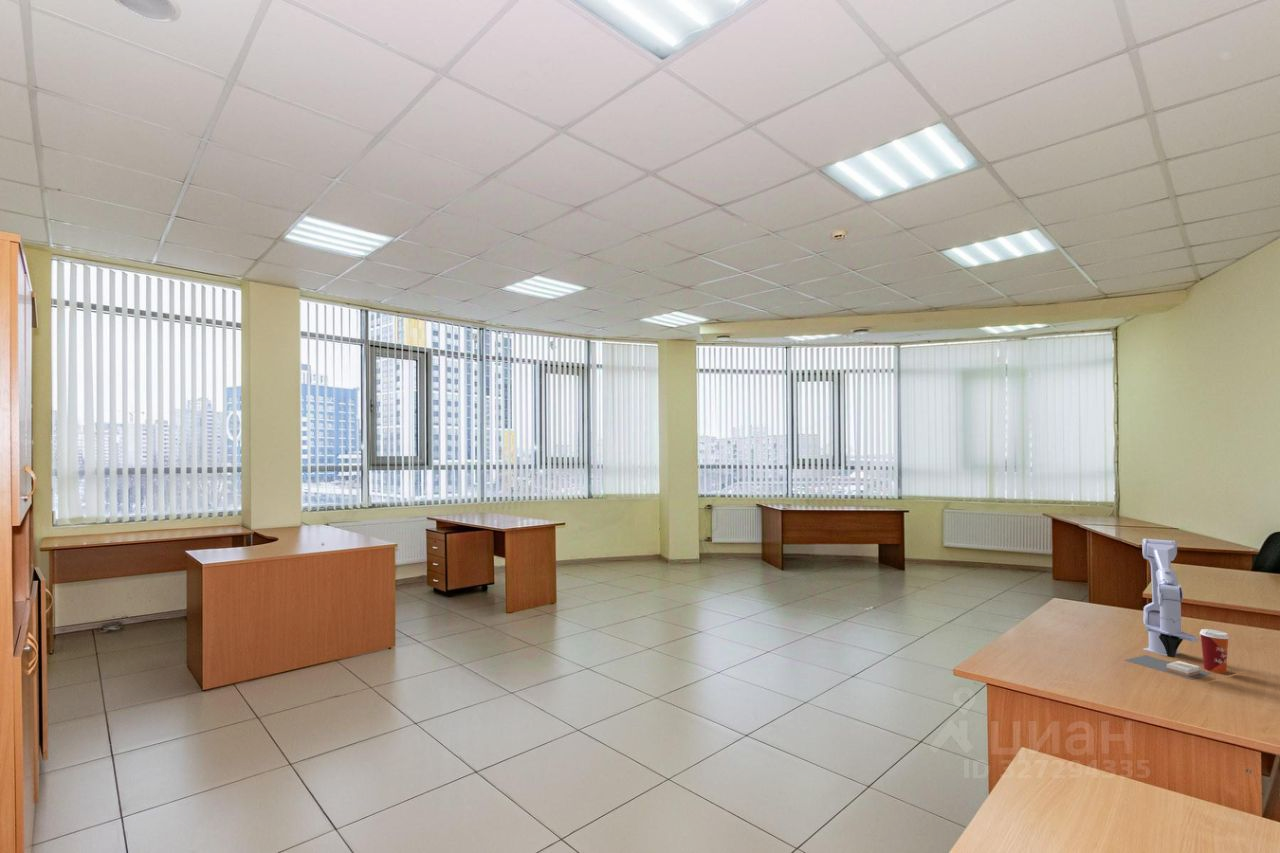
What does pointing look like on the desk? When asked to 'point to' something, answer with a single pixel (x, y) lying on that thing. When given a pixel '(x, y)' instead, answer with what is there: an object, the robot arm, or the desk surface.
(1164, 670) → the mat
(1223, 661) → the paper cup
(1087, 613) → the desk surface
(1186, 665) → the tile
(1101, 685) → the desk surface
